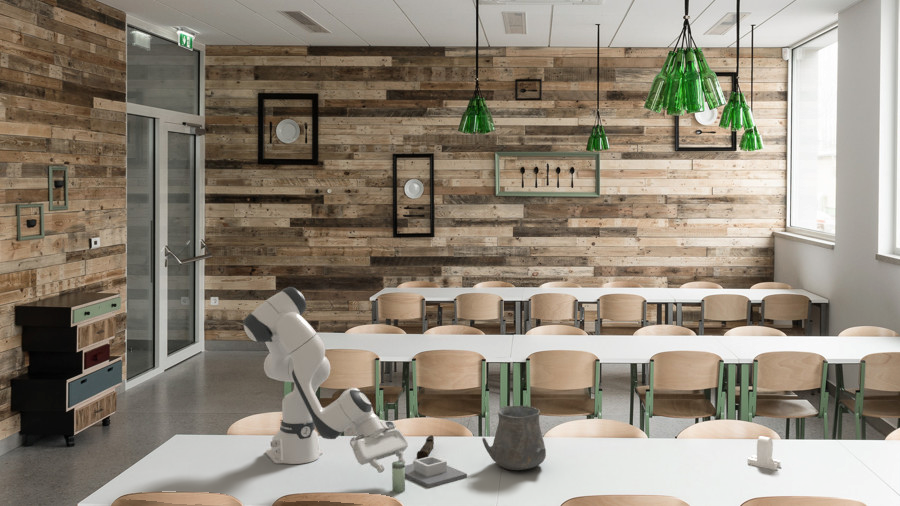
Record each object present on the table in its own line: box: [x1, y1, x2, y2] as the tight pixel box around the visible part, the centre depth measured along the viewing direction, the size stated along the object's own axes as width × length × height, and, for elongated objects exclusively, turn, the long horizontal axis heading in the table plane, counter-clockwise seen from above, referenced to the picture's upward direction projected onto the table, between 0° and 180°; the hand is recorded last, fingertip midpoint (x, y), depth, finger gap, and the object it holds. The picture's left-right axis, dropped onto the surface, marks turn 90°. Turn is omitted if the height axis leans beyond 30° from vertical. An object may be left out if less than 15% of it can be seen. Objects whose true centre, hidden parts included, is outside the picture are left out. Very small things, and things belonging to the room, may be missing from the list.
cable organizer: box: [747, 435, 781, 471], centre depth 285 cm, size 5×10×10 cm, turn 47°
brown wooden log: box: [416, 435, 435, 460], centre depth 301 cm, size 19×4×5 cm, turn 168°
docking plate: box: [405, 455, 468, 489], centre depth 277 cm, size 20×16×5 cm
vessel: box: [481, 405, 547, 471], centre depth 286 cm, size 22×22×20 cm
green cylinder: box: [391, 460, 406, 494], centre depth 262 cm, size 4×4×9 cm
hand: (392, 467), depth 263 cm, fingers open, 8 cm apart
